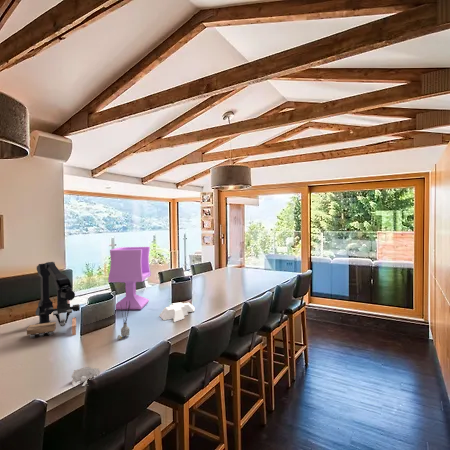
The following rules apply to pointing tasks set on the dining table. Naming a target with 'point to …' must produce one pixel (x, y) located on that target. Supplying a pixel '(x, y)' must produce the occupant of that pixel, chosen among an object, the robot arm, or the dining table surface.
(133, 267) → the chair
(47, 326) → the slab
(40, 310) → the robot arm
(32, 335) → the roller
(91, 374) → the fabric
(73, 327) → the bar
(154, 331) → the dining table surface
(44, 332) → the roller mid
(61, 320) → the roller
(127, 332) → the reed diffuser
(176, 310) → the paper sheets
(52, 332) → the roller
